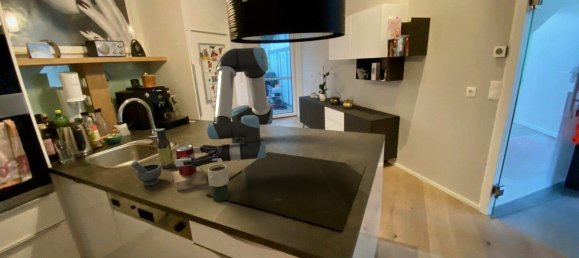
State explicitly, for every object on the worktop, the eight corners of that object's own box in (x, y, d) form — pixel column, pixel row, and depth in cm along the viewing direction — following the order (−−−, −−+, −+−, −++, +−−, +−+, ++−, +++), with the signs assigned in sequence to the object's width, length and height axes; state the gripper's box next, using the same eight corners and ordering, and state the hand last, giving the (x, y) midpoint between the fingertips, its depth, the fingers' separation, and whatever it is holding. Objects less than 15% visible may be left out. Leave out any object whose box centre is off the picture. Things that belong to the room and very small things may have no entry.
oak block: (200, 173, 114) (199, 165, 113) (206, 182, 104) (205, 174, 103) (173, 180, 108) (171, 172, 107) (177, 191, 98) (175, 182, 97)
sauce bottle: (175, 166, 122) (168, 129, 117) (161, 170, 119) (153, 132, 114) (173, 162, 128) (166, 127, 122) (160, 166, 124) (152, 129, 119)
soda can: (176, 174, 105) (171, 148, 102) (192, 168, 110) (188, 143, 107) (184, 178, 100) (179, 152, 97) (200, 172, 105) (196, 147, 102)
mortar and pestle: (155, 175, 113) (150, 152, 110) (168, 179, 109) (163, 155, 106) (131, 186, 104) (124, 161, 101) (143, 191, 100) (137, 165, 96)
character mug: (222, 190, 98) (217, 160, 94) (237, 192, 95) (233, 162, 92) (204, 204, 88) (199, 172, 84) (221, 207, 85) (216, 175, 82)
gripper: (228, 172, 94) (172, 178, 92) (234, 150, 118) (190, 154, 116) (226, 154, 92) (168, 160, 90) (232, 136, 116) (187, 139, 113)
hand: (180, 156), depth 103 cm, fingers open, 13 cm apart
